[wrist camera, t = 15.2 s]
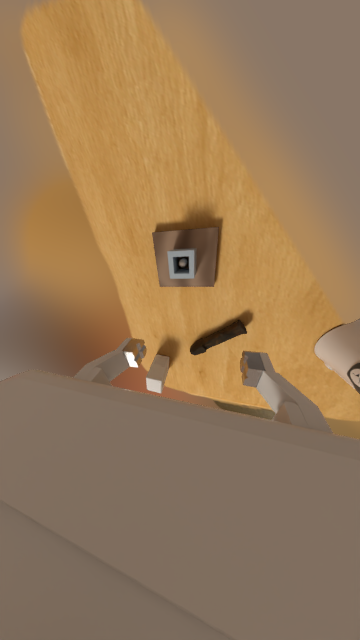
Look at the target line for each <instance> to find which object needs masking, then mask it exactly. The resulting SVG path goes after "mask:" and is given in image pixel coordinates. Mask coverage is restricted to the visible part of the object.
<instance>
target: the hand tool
mask: <svg viewBox="0 0 360 640" xmlns="http://www.w3.org/2000/svg"><path fill="white" fill-rule="evenodd" d="M241 334H247V331H246V328H245V326H244V325H243V323H242V322H241V321H240V320H238V322H237V323H233V325H231V326H229V327H226V328H224V329H223V330H221V331H218V332H217V333H214V334H213V335H211V336H209V337H206V338H204V339H200V340H198V341H197V342H196V343H194V344H193V345H192V346H191V348H190V352H191V354H193V355H198V354H201V353H204V352H206V350H207V349H209V348H210V347H212V346H215V345H218V344H220V343H222V342H225V341H227V340H229V339H231V338H234V337H236V336H238V335H241Z"/></svg>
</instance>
